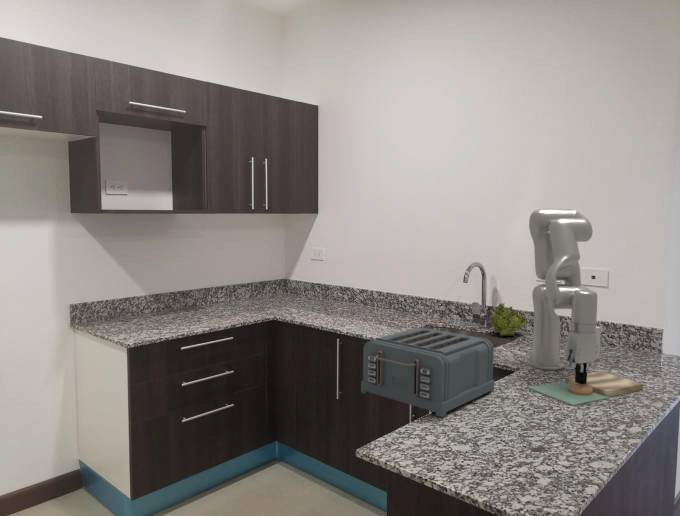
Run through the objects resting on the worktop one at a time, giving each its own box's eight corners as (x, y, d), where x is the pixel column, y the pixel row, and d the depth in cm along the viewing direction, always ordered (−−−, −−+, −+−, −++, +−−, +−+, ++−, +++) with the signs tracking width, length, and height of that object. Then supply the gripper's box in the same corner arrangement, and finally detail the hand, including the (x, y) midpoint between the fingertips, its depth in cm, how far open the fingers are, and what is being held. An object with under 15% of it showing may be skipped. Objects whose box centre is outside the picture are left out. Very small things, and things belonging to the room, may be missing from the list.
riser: (565, 383, 187) (565, 377, 187) (600, 376, 195) (601, 371, 195) (606, 397, 173) (606, 391, 173) (642, 389, 181) (643, 384, 181)
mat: (528, 388, 181) (528, 387, 181) (562, 382, 188) (562, 381, 188) (573, 405, 165) (573, 404, 165) (608, 398, 172) (608, 397, 172)
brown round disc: (564, 390, 178) (564, 386, 178) (576, 386, 182) (576, 382, 182) (584, 396, 172) (584, 391, 172) (596, 392, 176) (597, 387, 176)
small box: (572, 356, 224) (573, 324, 222) (582, 354, 227) (583, 323, 226) (590, 360, 217) (591, 328, 216) (600, 358, 220) (601, 327, 219)
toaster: (351, 395, 173) (352, 340, 171) (417, 372, 199) (418, 324, 197) (433, 421, 152) (435, 359, 150) (494, 391, 178) (496, 338, 177)
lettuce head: (520, 342, 247) (522, 307, 246) (486, 338, 254) (487, 304, 253) (527, 334, 263) (528, 301, 262) (494, 331, 270) (495, 299, 269)
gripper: (589, 323, 184) (586, 377, 185) (557, 327, 177) (555, 382, 179) (608, 328, 177) (606, 383, 179) (576, 332, 170) (574, 389, 172)
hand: (580, 382), depth 179 cm, fingers closed
